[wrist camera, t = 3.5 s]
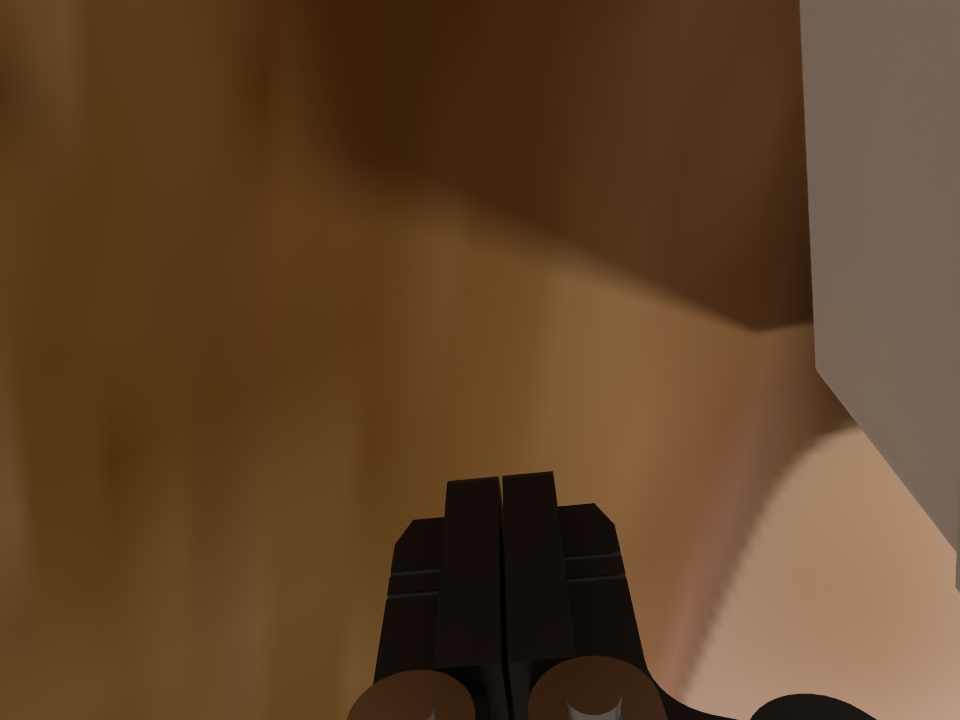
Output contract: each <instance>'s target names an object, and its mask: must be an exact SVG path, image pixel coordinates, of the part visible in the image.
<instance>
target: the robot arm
mask: <svg viewBox="0 0 960 720" xmlns="http://www.w3.org/2000/svg"><path fill="white" fill-rule="evenodd" d="M502 484H503V504H502V496H501V488H500V482H499V477H487V478H477V479H466V480H455V481H448V482H447V490H446V504H445V517H440V518H429V519H418V520H413V521H412V522H411V524H410V525H409V526H408V528H407V529H406V530H405V532H404V533H403V534H402V536H401V537H400V538H399V540H398V541H397V542H396V544H395V547H394V554H393V560H392V567H391V577H390V579H389V586H388V592H387V595H388V599H386V605H385V612H384V618H383V624H382V631H381V637H380V644H379V650H378V657H377V663H376V669H375V676H374V682H373V685H372V686H371V687H369V688H368V689H367V690H366V691H365V692H364V693H363V694H362V695H361V696H360V697H359V698H358V699H357V701H356V702H355V703H354V705H353V706H352V708H351V710H350V711H349V714H348V717H347V719H346V720H736V719H731V718H726V717H721V716H716V715H711V714H708V713H704V712H700V711H697V710H695V709H692V708H690V707H688V706H686V705H684V704H682V703H680V702H678V701H676V700H675V699H674V698H672V697H671V696H669V695H668V694H667V693H666V692H665V691H664V690H662V689H661V688H660V687H659V686H658V684H657V683H656V682H655V681H654V679H653V678H652V676H651V674H650V673H649V671H648V669H647V666H646V663H645V659H644V655H643V650H642V646H641V641H640V637H639V632H638V628H637V623H636V619H635V614H634V610H633V605H632V601H631V596H630V592H629V587H628V583H627V578H626V576H625V569H624V565H623V560H622V556H621V552H620V547H619V543H618V538H617V534H616V529H615V525H614V524H613V523H612V521H611V520H610V519H609V518H608V517H607V516H606V515H605V514H604V513H603V512H602V511H601V510H600V509H599V508H598V507H597V506H596V505H595V503H592V504H581V505H570V506H559V507H557V499H556V491H555V483H554V475H553V471H550V472H539V473H528V474H517V475H507V476H503V477H502ZM751 720H876V719H875V718H873V717H871V716H870V715H868V714H867V713H865V712H863V711H862V710H860V709H858V708H856V707H854V706H852V705H851V704H848V703H846V702H843V701H841V700H838V699H835V698H831V697H827V696H823V695H816V694H793V695H787V696H783V697H779V698H776V699H774V700H772V701H770V702H768V703H766V704H765V705H763V706H762V707H761V708H759V709H758V710H757V711H756V712H755V714H754V715H753V716H752V718H751Z"/></svg>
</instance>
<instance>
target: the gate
mask: <svg viewBox="0 0 960 720" xmlns="http://www.w3.org/2000/svg"><path fill="white" fill-rule="evenodd" d="M800 21H801V44H802V67H803V90H804V112H805V135H806V158H807V181H808V204H809V226H810V249H811V272H812V295H813V317H814V340H815V363H816V370H817V372H818V373H819V374H820V376H821V377H822V378H823V379H824V381H825V382H826V383H827V385H828V386H829V387H830V389H831V390H832V391H833V392H834V394H835V395H836V396H837V398H838V399H839V400H840V402H841V403H842V404H843V405H844V407H845V408H846V409H847V411H848V412H849V413H850V415H851V416H852V417H853V418H854V420H855V421H856V422H857V424H858V425H859V426H860V428H861V429H862V430H863V431H864V433H865V434H866V435H867V437H868V438H869V439H870V441H871V442H872V443H873V444H874V445H875V447H876V448H877V450H878V451H879V452H880V454H881V455H882V456H883V457H884V459H885V460H886V461H887V463H888V464H889V465H890V466H891V468H892V469H893V470H894V472H895V473H896V474H897V476H898V477H899V478H900V480H901V481H902V482H903V483H904V485H905V486H906V487H907V489H908V490H909V491H910V493H911V494H912V495H913V496H914V497H915V499H916V500H917V501H918V503H919V504H920V506H921V507H922V508H923V509H924V511H925V512H926V513H927V515H928V516H929V517H930V519H931V520H932V521H933V522H934V524H935V525H936V526H937V528H938V529H939V530H940V532H941V533H942V534H943V535H944V537H945V538H946V539H947V541H948V542H949V543H950V544H951V546H952V547H953V548H954V550H955V551H956V552H957V564H956V588H957V589H958V591H959V592H960V0H800Z"/></svg>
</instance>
